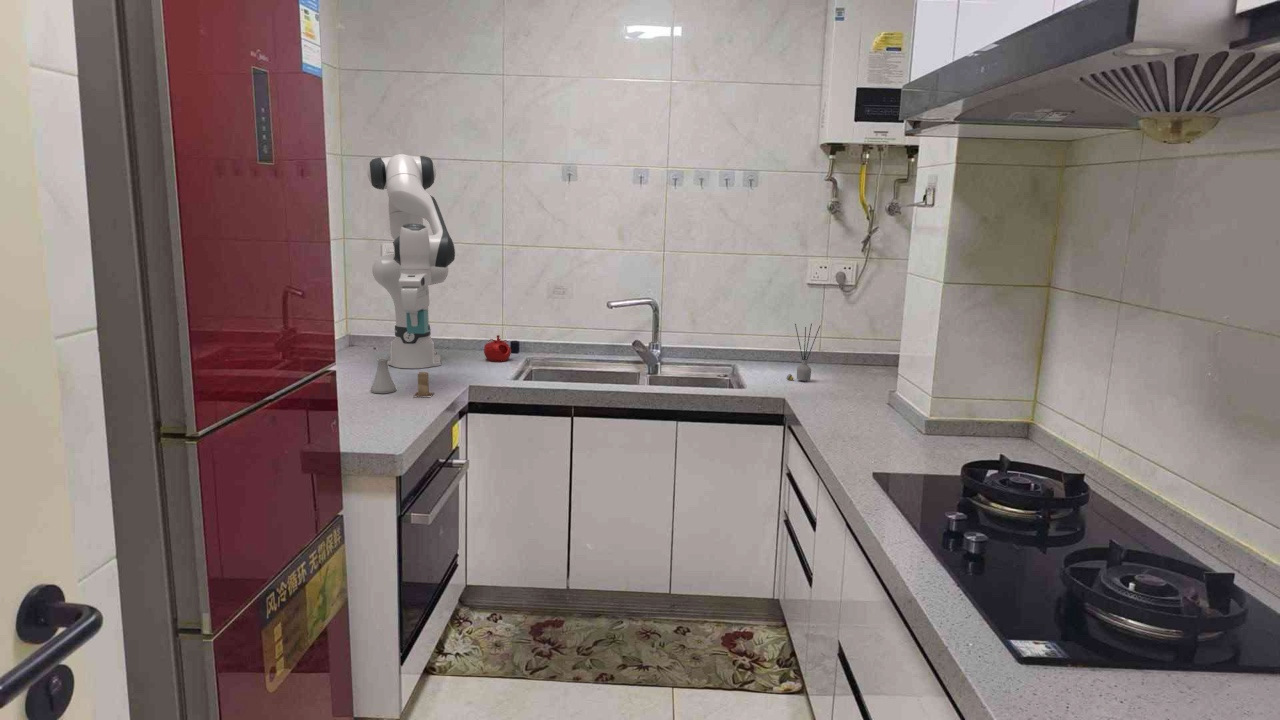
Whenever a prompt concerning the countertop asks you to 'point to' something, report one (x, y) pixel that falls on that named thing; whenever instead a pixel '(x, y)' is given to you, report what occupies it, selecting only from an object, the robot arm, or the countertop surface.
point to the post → (423, 385)
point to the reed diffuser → (803, 362)
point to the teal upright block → (422, 323)
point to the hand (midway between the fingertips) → (417, 324)
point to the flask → (383, 378)
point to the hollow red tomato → (497, 350)
